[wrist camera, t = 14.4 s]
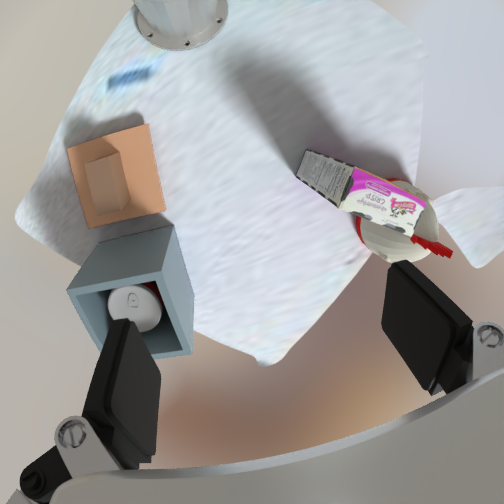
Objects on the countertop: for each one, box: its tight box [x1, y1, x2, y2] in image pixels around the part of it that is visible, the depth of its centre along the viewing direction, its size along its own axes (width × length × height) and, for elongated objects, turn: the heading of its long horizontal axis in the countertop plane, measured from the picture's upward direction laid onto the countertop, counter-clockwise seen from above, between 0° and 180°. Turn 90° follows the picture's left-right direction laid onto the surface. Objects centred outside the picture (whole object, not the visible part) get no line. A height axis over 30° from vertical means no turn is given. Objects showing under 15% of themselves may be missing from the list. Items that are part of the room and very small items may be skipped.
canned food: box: [108, 280, 164, 332], centre depth 41 cm, size 8×8×11 cm
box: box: [66, 225, 194, 359], centre depth 40 cm, size 13×13×14 cm
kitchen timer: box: [356, 178, 453, 263], centre depth 41 cm, size 14×14×15 cm
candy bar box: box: [296, 149, 427, 237], centre depth 36 cm, size 11×5×16 cm, turn 71°
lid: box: [67, 124, 166, 229], centre depth 36 cm, size 13×13×8 cm
